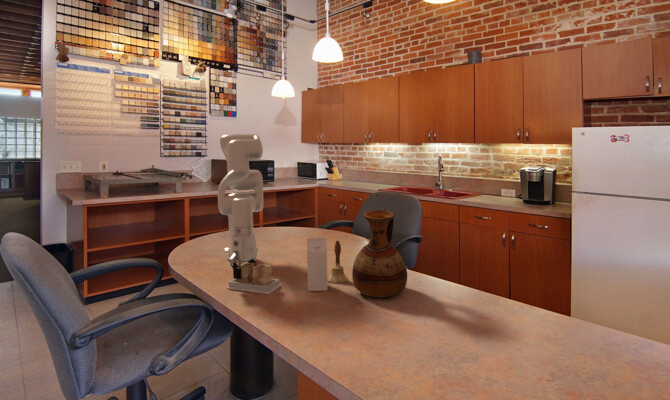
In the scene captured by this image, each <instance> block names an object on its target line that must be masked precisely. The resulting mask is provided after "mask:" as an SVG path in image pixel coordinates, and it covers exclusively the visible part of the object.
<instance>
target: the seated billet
mask: <svg viewBox="0 0 670 400" xmlns="http://www.w3.org/2000/svg"><path fill="white" fill-rule="evenodd" d="M272 268H273V267H272V264H267V263H259V264H256V266H255V267H253V284H256V285H264V286H268V285H269V284H271V283H272V279H273V271H272V270H273V269H272Z"/></svg>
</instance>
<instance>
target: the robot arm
mask: <svg viewBox="0 0 670 400" xmlns="http://www.w3.org/2000/svg"><path fill="white" fill-rule="evenodd" d="M262 143H263V142H262V140H261V138H260V136H259V135H258V134H249V133H248V134H246V133H245V134H243V133H242V134H241V133H239V134H237V133H234V134H233V133H232V134H231V133H230V134H223V135H222V136H221V137H220V139H219V144H220V148H221V151H222V153H223V154H224V157H225V160H226V165H227V166H226V171H227V174H226V175H225V176H224V177H223V178H222V179H221V181H220V182H219V184H218V187H217V188H218V189H217V206H218V211H219V213H220V214H221V215H224V216H227V218H228V234H229V235H228V236H229V237H228V239H229V247H225V248H224V250H223V253H224V254H227V255H226V259H227V260H228V262H229V263H230V267H231V268H232V271H233V274H232V275H233V279H241V278H242V275H241V268H240V267H241V264H242V262H243V263H245V262H249V263H254V267H255V266H257V262H256V261H257V255H258V249H259V248H258V247H257V242H256V241H257V240H256V235H255V232H254V214H253V213H258V212H262V211H263V209H264V181H263V179H264V178H263V175H262V173H261V171H260V170H259V169H250V160H260V159H261V158H262V156H263V151H264V150H263V144H262ZM228 188H229V189H230V190H232V191H243V192H232V193H229V194H228V195H226V190H228ZM244 191H248V192H244ZM249 191H250V192H249ZM237 264H238V265H237Z"/></svg>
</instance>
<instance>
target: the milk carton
mask: <svg viewBox="0 0 670 400" xmlns="http://www.w3.org/2000/svg"><path fill="white" fill-rule="evenodd" d="M327 248H328V247H327V238H326V237H316V238H314V237H312V238H311V237H310V238H306V261H307V262H306V263H307V291H308V292H317V291H318V292H321V291H323V292H324V291H328V281H327V279H328V249H327Z"/></svg>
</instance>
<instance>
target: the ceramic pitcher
mask: <svg viewBox="0 0 670 400" xmlns="http://www.w3.org/2000/svg"><path fill="white" fill-rule="evenodd" d="M362 216H363V218H364V219H365V220H366V221H367V222H368V224H369V231H370V238H369V242H368V243H367V244H365V245H364V246H363V247H362V248H361V249H360V250H359V252H358V253H357V255H356V257H355V258H354V261H353V266H352V275H351V276H352V277H351V280H352V283H353V286H354V288H355V290H357V291H358V292H360V293H362V294H364V295H365V296H369V297H373V298H386V297H391V296H396V295H397V294H399V293H401V292H403V291H404V289H405V288H406V287H407V282H408V270H407V266H406V263H405V261H404V259H403V256H402V255H401V253H400V252H399V251H398V250H397V248H396V247H395V246H393V244H392V239H393V232H394V224H395V223H394V222H395V221H394V216H395V214H394V212H393V211H391V210H386V209H377V210H370V211H369V210H368V211H366V212H364V213H363V214H362Z"/></svg>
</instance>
